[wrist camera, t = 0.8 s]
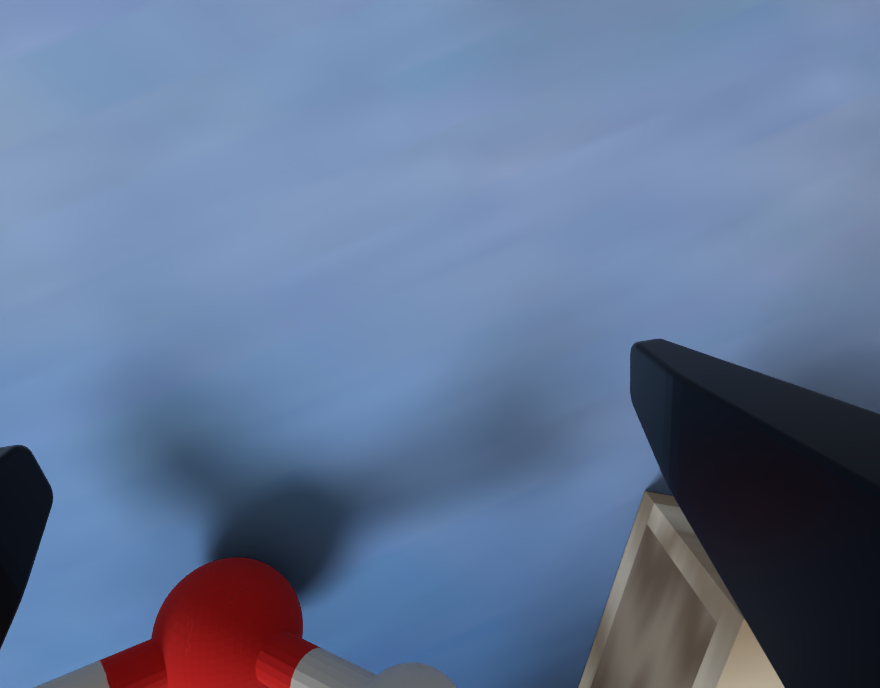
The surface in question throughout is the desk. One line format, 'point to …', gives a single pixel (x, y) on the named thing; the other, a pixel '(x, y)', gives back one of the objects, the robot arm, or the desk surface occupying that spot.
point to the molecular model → (236, 641)
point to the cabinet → (672, 615)
